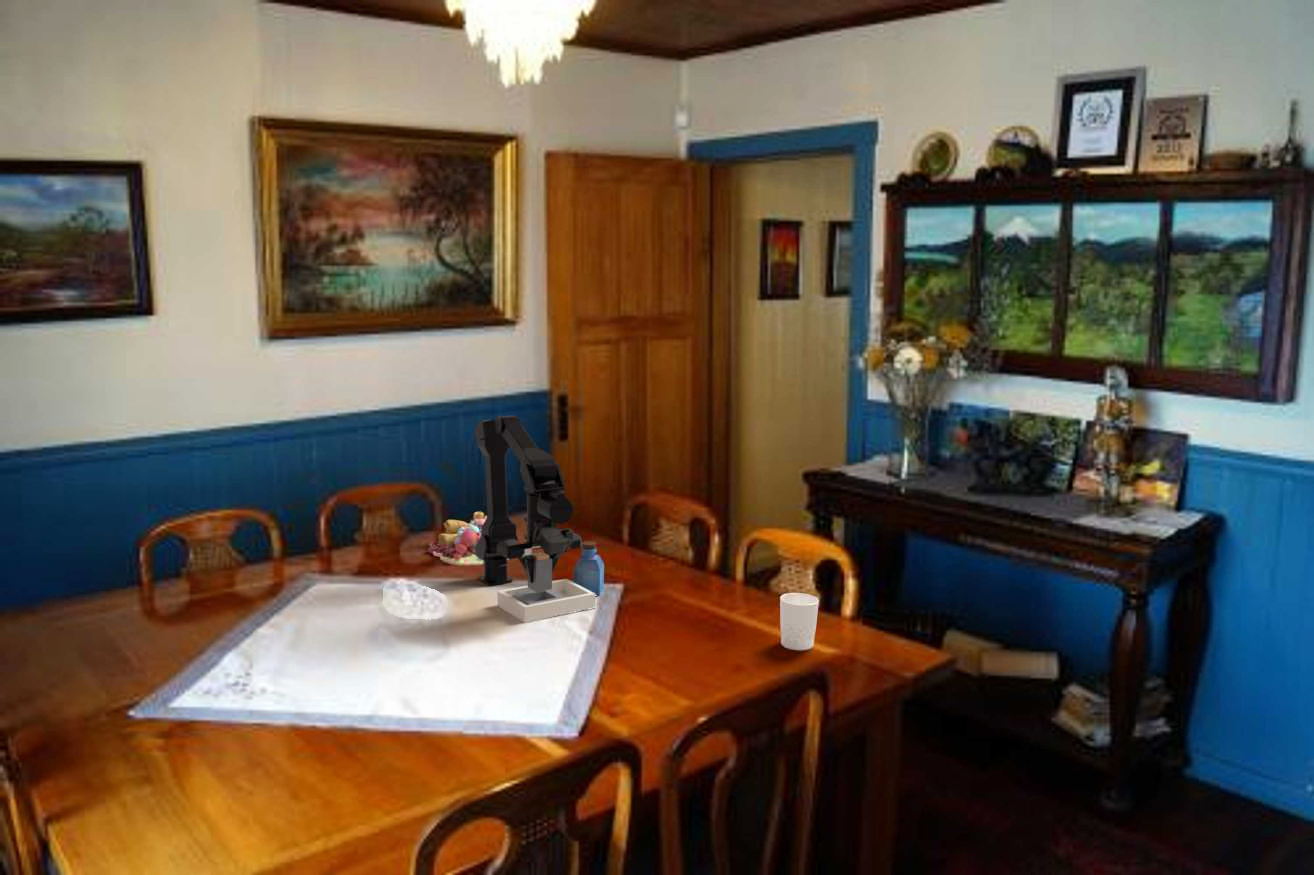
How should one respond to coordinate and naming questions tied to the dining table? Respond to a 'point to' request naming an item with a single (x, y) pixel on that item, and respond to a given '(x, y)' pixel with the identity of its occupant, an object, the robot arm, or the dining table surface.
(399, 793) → the dining table surface
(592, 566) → the perfume bottle
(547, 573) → the plug
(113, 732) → the dining table surface
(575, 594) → the box
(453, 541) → the food platter
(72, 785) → the dining table surface
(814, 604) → the white cup
